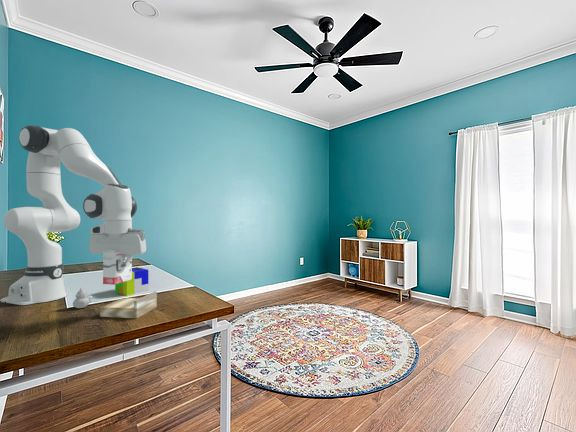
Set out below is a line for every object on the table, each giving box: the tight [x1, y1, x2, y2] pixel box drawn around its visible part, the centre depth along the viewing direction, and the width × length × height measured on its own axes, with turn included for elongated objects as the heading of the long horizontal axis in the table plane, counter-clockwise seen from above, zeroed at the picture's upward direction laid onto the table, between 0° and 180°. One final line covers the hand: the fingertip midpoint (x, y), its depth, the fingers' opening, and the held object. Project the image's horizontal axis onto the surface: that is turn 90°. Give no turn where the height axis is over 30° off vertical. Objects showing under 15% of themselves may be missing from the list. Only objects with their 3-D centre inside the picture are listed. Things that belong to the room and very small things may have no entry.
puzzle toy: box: [114, 267, 149, 297], centre depth 131 cm, size 10×10×10 cm
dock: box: [99, 291, 158, 319], centre depth 104 cm, size 14×12×6 cm
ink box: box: [102, 250, 133, 286], centre depth 102 cm, size 9×5×12 cm, turn 168°
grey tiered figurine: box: [72, 287, 93, 309], centre depth 109 cm, size 5×7×8 cm
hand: (118, 266), depth 102 cm, fingers closed on ink box, 5 cm apart
